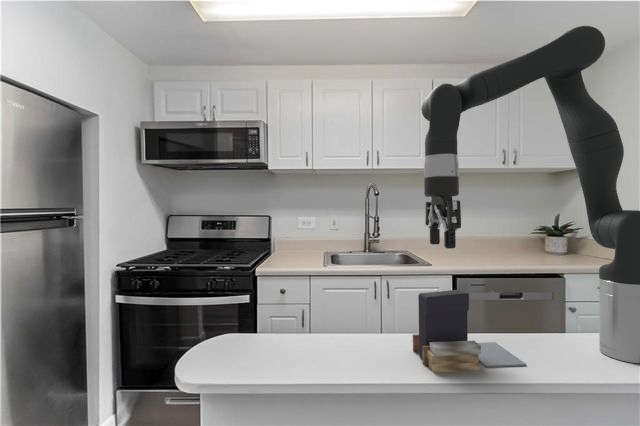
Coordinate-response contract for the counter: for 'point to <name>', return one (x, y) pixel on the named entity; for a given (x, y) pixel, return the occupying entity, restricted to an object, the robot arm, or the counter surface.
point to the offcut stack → (454, 356)
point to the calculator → (442, 317)
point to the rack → (416, 348)
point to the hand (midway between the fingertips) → (441, 246)
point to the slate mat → (497, 356)
